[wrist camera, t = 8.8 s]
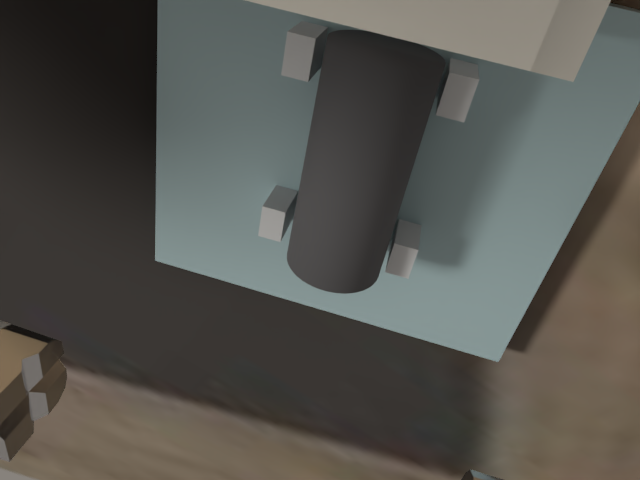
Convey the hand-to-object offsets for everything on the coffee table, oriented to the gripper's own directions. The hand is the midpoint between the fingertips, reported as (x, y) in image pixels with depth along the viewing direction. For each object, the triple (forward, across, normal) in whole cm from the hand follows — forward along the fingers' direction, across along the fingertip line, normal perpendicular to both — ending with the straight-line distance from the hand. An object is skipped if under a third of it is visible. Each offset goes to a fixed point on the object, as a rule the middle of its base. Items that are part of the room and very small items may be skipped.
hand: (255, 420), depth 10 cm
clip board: (+15, 0, +1) cm, 15 cm away
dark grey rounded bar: (+14, 0, 0) cm, 14 cm away
